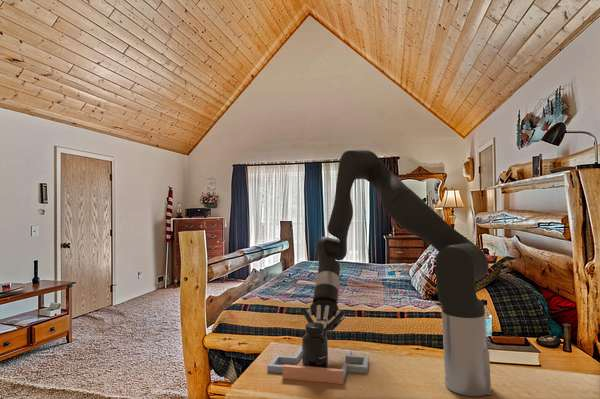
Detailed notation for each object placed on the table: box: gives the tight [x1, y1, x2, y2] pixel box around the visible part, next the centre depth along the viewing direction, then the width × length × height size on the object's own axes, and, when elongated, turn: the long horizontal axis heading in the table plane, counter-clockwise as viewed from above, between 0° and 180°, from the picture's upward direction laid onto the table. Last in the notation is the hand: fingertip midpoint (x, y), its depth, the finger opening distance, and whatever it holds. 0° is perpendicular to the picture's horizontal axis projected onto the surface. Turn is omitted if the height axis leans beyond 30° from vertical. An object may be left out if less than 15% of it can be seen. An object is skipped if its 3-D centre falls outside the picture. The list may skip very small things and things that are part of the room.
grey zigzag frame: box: [267, 345, 370, 385], centre depth 97 cm, size 26×18×3 cm
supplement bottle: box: [301, 322, 329, 368], centre depth 94 cm, size 7×7×12 cm
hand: (320, 343), depth 99 cm, fingers closed
